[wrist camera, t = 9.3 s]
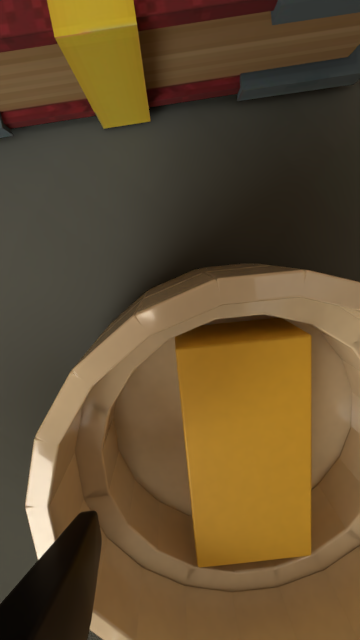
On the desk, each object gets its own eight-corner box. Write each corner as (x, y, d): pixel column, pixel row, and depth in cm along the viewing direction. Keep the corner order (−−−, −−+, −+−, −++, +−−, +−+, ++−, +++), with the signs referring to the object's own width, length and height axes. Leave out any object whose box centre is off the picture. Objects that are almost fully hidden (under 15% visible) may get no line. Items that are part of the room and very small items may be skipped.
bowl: (370, 518, 14) (475, 659, 9) (106, 547, 14) (72, 705, 9) (383, 249, 11) (542, 246, 7) (58, 280, 11) (-26, 301, 6)
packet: (285, 499, 13) (312, 556, 11) (192, 509, 13) (197, 569, 11) (281, 316, 11) (312, 334, 9) (174, 327, 11) (175, 348, 9)
